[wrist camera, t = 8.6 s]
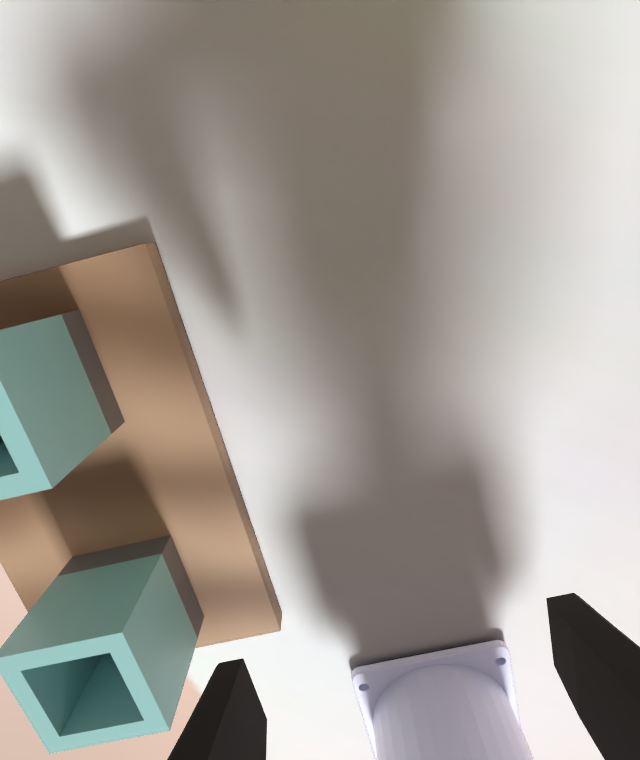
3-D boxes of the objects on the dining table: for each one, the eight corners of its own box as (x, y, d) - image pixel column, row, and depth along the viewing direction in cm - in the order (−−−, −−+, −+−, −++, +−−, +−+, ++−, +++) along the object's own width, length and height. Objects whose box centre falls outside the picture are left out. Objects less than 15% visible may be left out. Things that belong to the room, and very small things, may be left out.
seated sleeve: (204, 616, 20) (169, 730, 15) (111, 635, 21) (49, 753, 16) (171, 534, 19) (122, 632, 14) (72, 556, 19) (-9, 659, 14)
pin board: (282, 613, 21) (275, 681, 18) (73, 656, 22) (30, 729, 19) (155, 243, 16) (113, 242, 13) (-111, 313, 17) (-215, 330, 14)
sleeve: (125, 421, 17) (52, 488, 13) (18, 447, 18) (-93, 521, 13) (79, 309, 16) (-22, 336, 11) (-36, 338, 16) (-181, 376, 12)
